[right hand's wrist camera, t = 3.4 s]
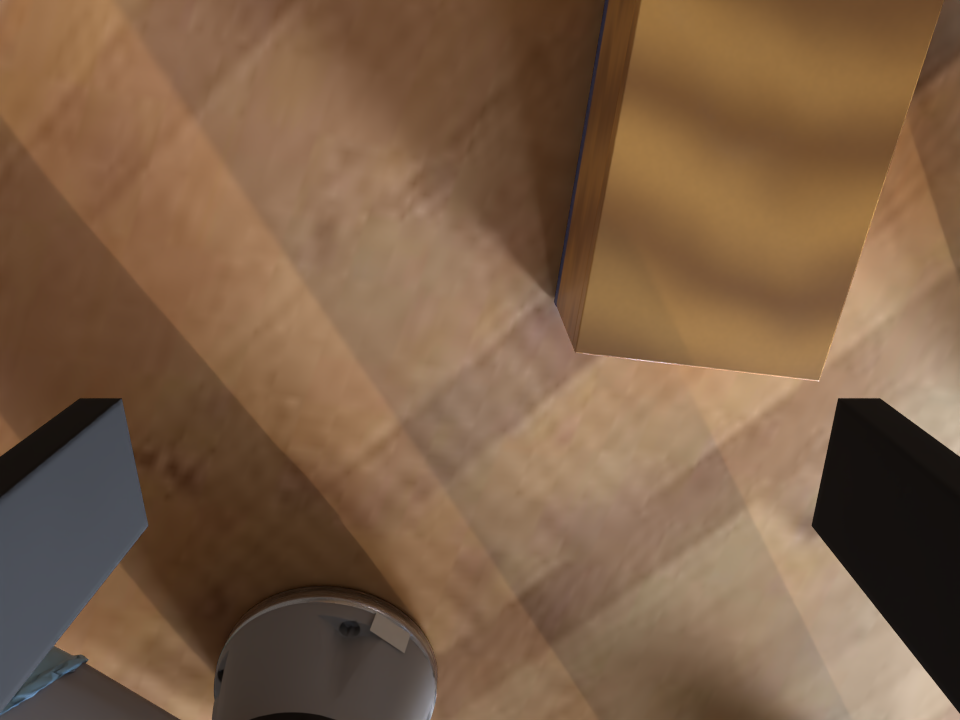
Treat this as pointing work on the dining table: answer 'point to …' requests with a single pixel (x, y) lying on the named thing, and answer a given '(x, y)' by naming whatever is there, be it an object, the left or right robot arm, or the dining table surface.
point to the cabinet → (733, 176)
